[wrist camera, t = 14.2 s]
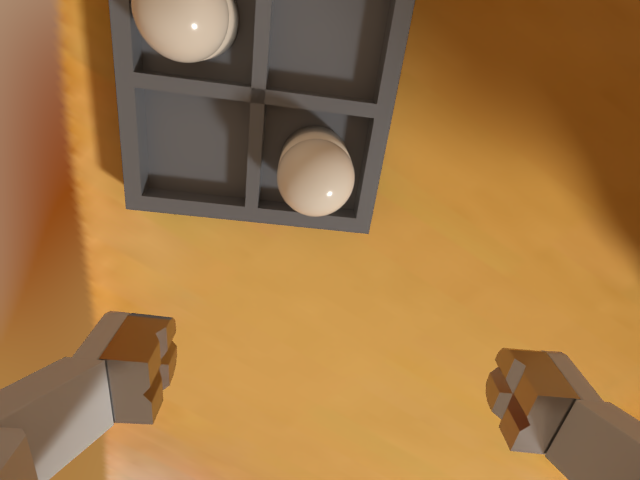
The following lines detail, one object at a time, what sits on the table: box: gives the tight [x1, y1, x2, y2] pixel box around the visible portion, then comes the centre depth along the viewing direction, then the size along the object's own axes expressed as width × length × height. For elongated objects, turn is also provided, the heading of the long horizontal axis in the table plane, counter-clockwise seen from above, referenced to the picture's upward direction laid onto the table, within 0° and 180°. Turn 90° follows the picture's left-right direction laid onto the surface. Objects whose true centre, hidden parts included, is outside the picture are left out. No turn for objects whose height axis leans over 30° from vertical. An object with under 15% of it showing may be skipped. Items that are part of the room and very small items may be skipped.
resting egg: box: [131, 0, 239, 63], centre depth 20 cm, size 4×4×6 cm
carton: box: [109, 0, 415, 234], centre depth 24 cm, size 16×16×2 cm
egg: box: [277, 126, 355, 217], centre depth 24 cm, size 4×4×6 cm
